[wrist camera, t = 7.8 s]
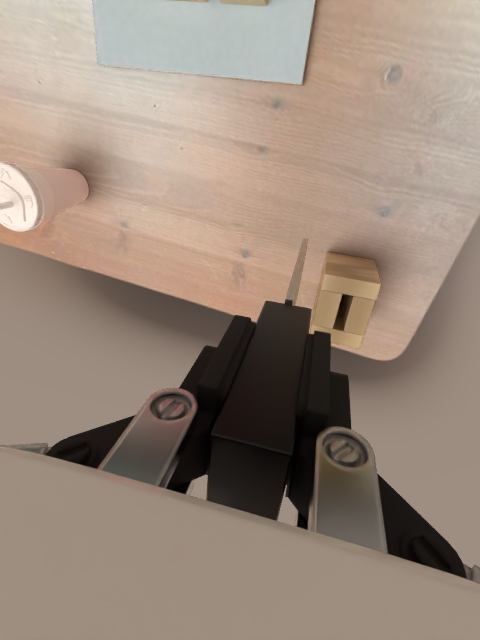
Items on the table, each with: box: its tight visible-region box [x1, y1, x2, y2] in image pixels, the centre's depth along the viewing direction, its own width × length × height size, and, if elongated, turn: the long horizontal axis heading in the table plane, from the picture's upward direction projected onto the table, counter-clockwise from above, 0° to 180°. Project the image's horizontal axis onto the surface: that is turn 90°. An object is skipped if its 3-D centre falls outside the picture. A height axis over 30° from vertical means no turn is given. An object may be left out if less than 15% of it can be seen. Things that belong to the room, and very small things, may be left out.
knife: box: [206, 238, 312, 521], centre depth 15 cm, size 2×3×16 cm, turn 175°
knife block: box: [310, 252, 381, 349], centre depth 35 cm, size 5×7×7 cm
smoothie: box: [0, 161, 89, 231], centre depth 35 cm, size 6×6×14 cm
